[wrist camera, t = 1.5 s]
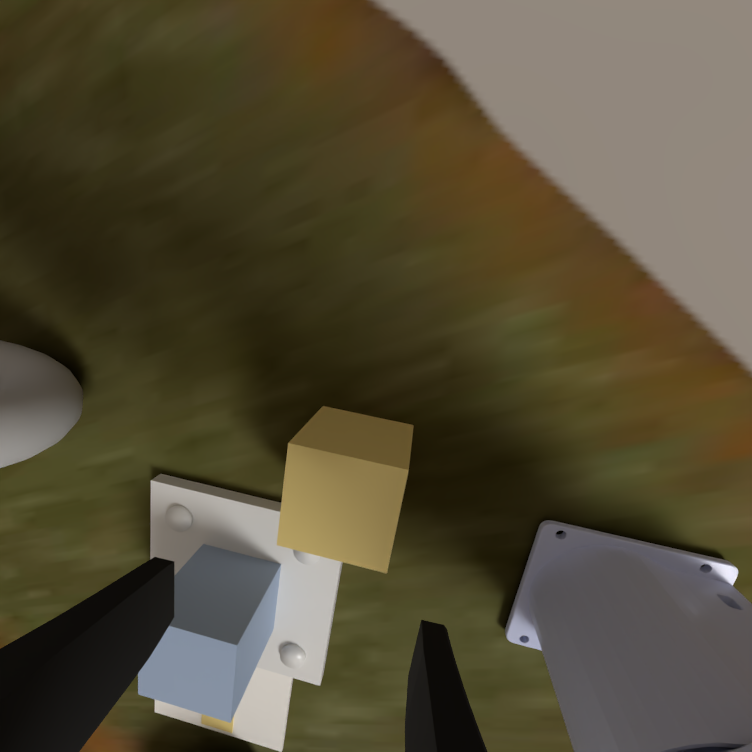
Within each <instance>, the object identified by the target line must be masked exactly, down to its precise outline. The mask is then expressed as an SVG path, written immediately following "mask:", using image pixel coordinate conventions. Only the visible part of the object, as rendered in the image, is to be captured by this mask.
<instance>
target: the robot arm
mask: <svg viewBox="0 0 752 752" xmlns="http://www.w3.org/2000/svg"><path fill="white" fill-rule="evenodd" d="M558 531H563V533H562V534H556V533H557V532H558ZM704 564H705V565H704ZM702 565H704V566H703V567H701V566H702ZM737 576H738V569H737V568H736V567H735V566H734V565H733V564H732V563H731V562H729V561H727V560H723V559H718V558H714V557H710V556H705V555H701V554H697V553H692V552H688V551H683V550H679V549H675V548H670V547H666V546H662V545H657V544H653V543H648V542H644V541H640V540H635V539H631V538H627V537H622V536H618V535H613V534H609V533H605V532H600V531H596V530H592V529H587V528H583V527H578V526H574V525H570V524H565V523H561V522H557V521H552V520H546V521H543V522H542V523H541V524H540V525H539V528H538V531H537V534H536V537H535V540H534V543H533V546H532V549H531V552H530V555H529V558H528V561H527V564H526V567H525V570H524V573H523V576H522V579H521V582H520V585H519V588H518V591H517V594H516V597H515V601H514V604H513V607H512V610H511V613H510V616H509V619H508V622H507V625H506V628H505V634H506V637H507V639H508V640H509V641H510V642H512V643H516V644H519V645H523V646H527V647H531V648H534V649H538V650H542V652H543V655H544V659H545V662H546V665H547V668H548V671H549V674H550V677H551V681H552V684H553V687H554V690H555V693H556V696H557V699H558V703H559V706H560V709H561V712H562V715H563V718H564V721H565V725H566V728H567V731H568V734H569V737H570V740H571V743H572V747H573V750H574V752H752V604H751V603H750V602H749V601H748V600H747V599H746V598H745V597H744V596H743V595H742V594H741V593H740V592H739V591H738V590H737V589H736V588H735V587H733V586H732V585H733V584H734V582H735V580H736V578H737ZM173 618H174V561H170V560H166V559H162V558H158V557H154V558H152V559H151V560H149V561H147V562H146V563H144V564H142V565H141V566H139V567H138V568H136V569H134V570H133V571H131V572H129V573H128V574H126V575H125V576H123V577H121V578H120V579H118V580H117V581H115V582H113V583H112V584H110V585H109V586H107V587H105V588H104V589H102V590H100V591H99V592H97V593H96V594H94V595H92V596H91V597H89V598H87V599H86V600H84V601H82V602H81V603H79V604H77V605H76V606H74V607H72V608H71V609H69V610H67V611H66V612H64V613H62V614H61V615H59V616H57V617H56V618H54V619H52V620H50V621H49V622H47V623H45V624H43V625H42V626H40V627H38V628H36V629H35V630H33V631H31V632H29V633H27V634H26V635H24V636H22V637H20V638H19V639H17V640H15V641H13V642H12V643H10V644H8V645H6V646H5V647H3V648H1V649H0V752H79V751H80V750H81V748H82V747H83V746H84V744H85V743H86V742H87V740H88V739H89V738H90V736H91V735H92V734H93V732H94V731H95V730H96V728H97V727H98V726H99V724H100V723H101V722H102V721H103V719H104V718H105V717H106V715H107V714H108V713H109V711H110V710H111V709H112V707H113V706H114V705H115V703H116V702H117V701H118V699H119V698H120V697H121V695H122V694H123V693H124V691H125V690H126V689H127V687H128V686H129V685H130V683H131V682H132V681H133V679H134V678H135V677H136V675H137V674H138V673H139V671H140V670H141V669H142V667H143V666H144V664H145V663H146V662H147V660H148V659H149V658H150V656H151V654H152V653H153V651H154V650H155V648H156V646H157V645H158V643H159V642H160V640H161V638H162V637H163V635H164V633H165V632H166V630H167V628H168V627H169V625H170V623H171V622H172V620H173ZM523 635H525V636H523ZM405 752H487V750H486V747H485V744H484V742H483V739H482V737H481V734H480V731H479V729H478V726H477V723H476V720H475V718H474V715H473V712H472V709H471V707H470V704H469V701H468V698H467V695H466V692H465V690H464V687H463V683H462V680H461V677H460V674H459V671H458V668H457V665H456V661H455V658H454V655H453V651H452V647H451V644H450V640H449V636H448V632H447V629H446V628H445V626H444V625H441V624H437V623H433V622H428V621H424V620H421V624H420V628H419V632H418V637H417V641H416V645H415V650H414V654H413V658H412V662H411V667H410V671H409V675H408V688H407V703H406V719H405Z"/></svg>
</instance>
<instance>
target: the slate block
mask: <svg viewBox="0 0 752 752" xmlns="http://www.w3.org/2000/svg"><path fill="white" fill-rule="evenodd" d="M280 570H281V564H279V563H275V562H271V561H267V560H263V559H260V558H256V557H252V556H248V555H244V554H240V553H237V552H233V551H229V550H225V549H221V548H217V547H213V546H210V545H206V544H203V545H202V546H201V547H200V548H199V549H198V550H197V551H196V552H195V553H194V555H193V556H192V557H191V558H190V559H189V560H188V561H187V562H186V564H185V565H184V566H183V567H182V568H181V569H180V570H179V571H178V572H177V574H176V575H175V576H174V618H173V620H172V622H171V623H170V625H169V627H168V628H167V630H166V632H165V633H164V635H163V637H162V638H161V640H160V642H159V643H158V645H157V646H156V648H155V650H154V651H153V653H152V654H151V656H150V658H149V659H148V660H147V662H146V663H145V664H144V666H143V667H142V669H141V670H140V671H139V673H138V694H139V695H142V696H146V697H149V698H152V699H155V700H158V701H162V702H165V703H168V704H171V705H175V706H178V707H181V708H184V709H187V710H191V711H194V712H197V713H200V714H203V715H207V716H210V717H213V718H216V719H220V720H223V721H226V722H229V723H231V721H232V719H233V717H234V714H235V712H236V710H237V708H238V706H239V703H240V701H241V699H242V697H243V695H244V693H245V690H246V688H247V686H248V684H249V682H250V680H251V677H252V675H253V673H254V671H255V669H256V666H257V664H258V662H259V660H260V658H261V656H262V653H263V651H264V649H265V647H266V645H267V642H268V640H269V638H270V636H271V634H272V632H273V629H274V621H275V613H276V604H277V596H278V587H279V579H280Z"/></svg>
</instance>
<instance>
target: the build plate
mask: <svg viewBox="0 0 752 752" xmlns="http://www.w3.org/2000/svg"><path fill="white" fill-rule="evenodd" d="M280 510H281V503H280V502H276V501H272V500H268V499H264V498H260V497H255V496H251V495H247V494H243V493H239V492H235V491H231V490H226V489H222V488H218V487H214V486H210V485H206V484H202V483H197V482H193V481H189V480H185V479H181V478H177V477H173V476H169V475H164V474H159V475H158V476H156V477H155V478H153V479H152V480H151V542H150V560H151V559H152V558H154V557H158V558H162V559H166V560H170V561H174V576H175V575H176V574H177V572H178V571H179V570H180V569H181V568H182V567H183V566H184V565H185V564H186V562H187V561H188V560H189V559H190V558H191V557H192V556H193V555H194V553H195V552H196V551H197V550H198V549H199V548H200V547H201V546H202V545H203V544H206V545H210V546H213V547H217V548H221V549H225V550H229V551H233V552H237V553H240V554H244V555H248V556H252V557H256V558H260V559H263V560H267V561H271V562H275V563H279V564H281V570H280V579H279V587H278V596H277V604H276V613H275V621H274V629H273V632H272V634H271V636H270V638H269V640H268V642H267V645H266V647H265V649H264V651H263V653H262V656H261V658H260V660H259V662H258V664H257V666H256V667H258V668H261V669H264V670H268V671H271V672H275V673H278V674H282V675H285V676H288V677H292V678H295V679H299V680H302V681H306V682H309V683H312V684H316V685H319V686H320V684H321V680H322V677H323V673H324V667H325V662H326V656H327V650H328V644H329V638H330V632H331V627H332V621H333V615H334V609H335V603H336V597H337V591H338V586H339V580H340V574H341V568H342V562H340V561H336V560H332V559H329V558H325V557H321V556H317V555H313V554H309V553H305V552H301V551H297V550H293V549H290V548H286V547H282V546H278V545H277V536H278V528H279V519H280Z"/></svg>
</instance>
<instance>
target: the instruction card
mask: <svg viewBox="0 0 752 752" xmlns="http://www.w3.org/2000/svg"><path fill="white" fill-rule="evenodd" d="M292 682H293V678H292V677H288V676H285V675H282V674H278V673H275V672H271V671H268V670H264V669H261V668H258V667H256V669H255V671H254V673H253V675H252V677H251V680H250V682H249V684H248V686H247V688H246V690H245V693H244V695H243V697H242V699H241V701H240V703H239V706H238V708H237V710H236V712H235V714H234V717H233V719H232V721H231V723H229V722H226V721H223V720H220V719H216V718H213V717H210V716H207V715H203V714H200V713H197V712H194V711H191V710H187V709H184V708H181V707H178V706H175V705H171V704H168V703H165V702H162V701H158V700H155V712H156V713H159V714H163V715H166V716H169V717H172V718H175V719H178V720H182V721H185V722H188V723H191V724H194V725H198V726H201V727H204V728H207V729H210V730H213V731H217V732H220V733H223V734H226V735H229V736H232V737H236V738H239V739H242V740H245V741H248V742H251V743H255V744H258V745H261V746H264V747H267V748H271V749H274V750H277V751H280V752H282V749H283V745H284V738H285V731H286V724H287V717H288V710H289V703H290V696H291V689H292Z"/></svg>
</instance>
